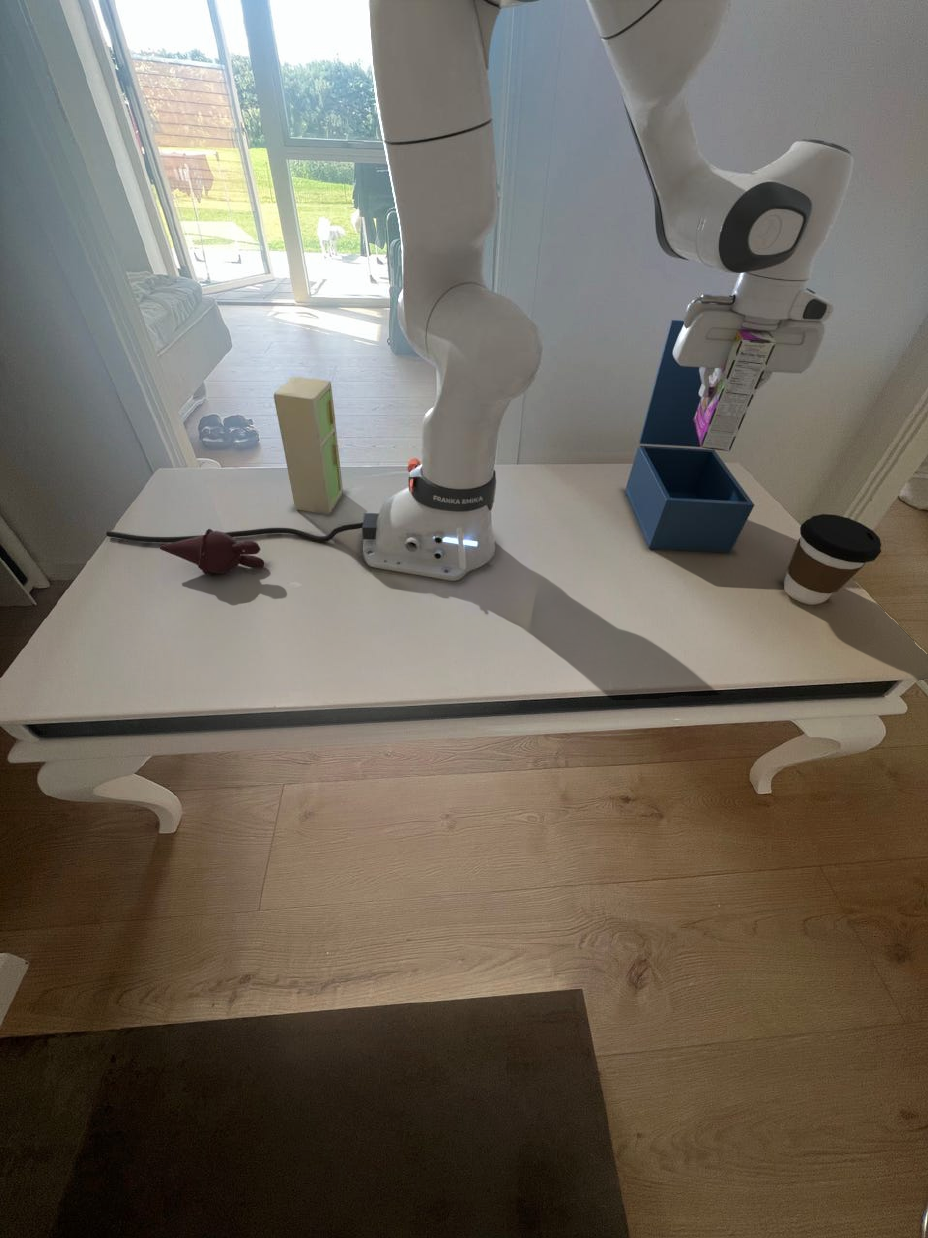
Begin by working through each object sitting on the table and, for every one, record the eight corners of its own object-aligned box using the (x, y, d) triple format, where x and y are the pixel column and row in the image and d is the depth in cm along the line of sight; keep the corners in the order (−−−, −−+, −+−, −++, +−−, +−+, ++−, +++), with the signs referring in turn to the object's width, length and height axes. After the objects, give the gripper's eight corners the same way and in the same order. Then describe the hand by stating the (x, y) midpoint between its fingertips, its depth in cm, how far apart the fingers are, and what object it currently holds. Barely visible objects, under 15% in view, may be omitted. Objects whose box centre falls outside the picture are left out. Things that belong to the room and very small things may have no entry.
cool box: (730, 552, 93) (754, 504, 86) (648, 548, 93) (666, 500, 86) (695, 494, 107) (714, 449, 100) (624, 490, 107) (638, 445, 100)
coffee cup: (829, 578, 89) (871, 518, 81) (848, 621, 82) (896, 560, 73) (762, 566, 91) (797, 506, 82) (775, 607, 83) (814, 546, 75)
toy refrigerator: (333, 515, 94) (317, 398, 80) (294, 510, 95) (271, 392, 80) (347, 493, 100) (335, 380, 86) (311, 488, 101) (292, 375, 86)
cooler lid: (759, 326, 87) (746, 321, 91) (672, 320, 87) (663, 315, 91) (716, 447, 100) (706, 439, 104) (639, 443, 99) (633, 434, 103)
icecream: (143, 552, 74) (253, 561, 76) (159, 513, 78) (263, 523, 80) (160, 580, 80) (261, 588, 82) (174, 542, 84) (271, 551, 86)
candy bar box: (690, 420, 91) (729, 315, 80) (720, 424, 91) (763, 318, 79) (698, 448, 83) (742, 336, 72) (730, 452, 83) (779, 340, 71)
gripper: (699, 298, 71) (666, 401, 80) (846, 308, 71) (795, 409, 81) (685, 287, 75) (655, 385, 85) (823, 296, 76) (778, 393, 85)
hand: (725, 397), depth 83 cm, fingers closed on candy bar box, 5 cm apart
